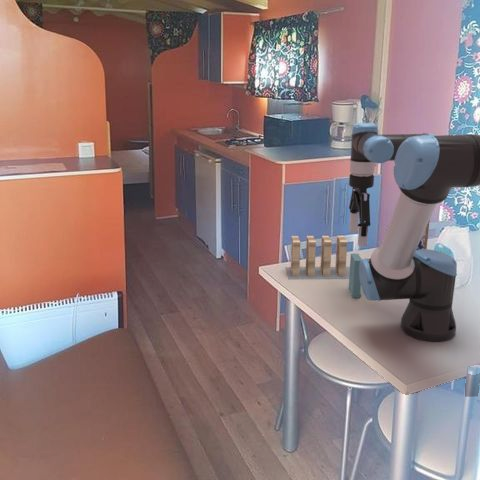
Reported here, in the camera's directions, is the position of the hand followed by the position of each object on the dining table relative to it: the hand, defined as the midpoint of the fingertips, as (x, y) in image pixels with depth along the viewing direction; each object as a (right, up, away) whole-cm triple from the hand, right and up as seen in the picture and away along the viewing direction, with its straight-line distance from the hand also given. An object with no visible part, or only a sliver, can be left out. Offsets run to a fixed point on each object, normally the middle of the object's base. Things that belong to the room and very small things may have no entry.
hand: (357, 238), depth 181 cm
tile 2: (-13, -12, +23) cm, 29 cm away
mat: (-5, -13, +23) cm, 27 cm away
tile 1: (-18, -12, +23) cm, 32 cm away
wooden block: (+28, -8, +36) cm, 47 cm away
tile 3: (-7, -12, +23) cm, 27 cm away
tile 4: (-2, -12, +23) cm, 26 cm away
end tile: (0, -18, +6) cm, 19 cm away
